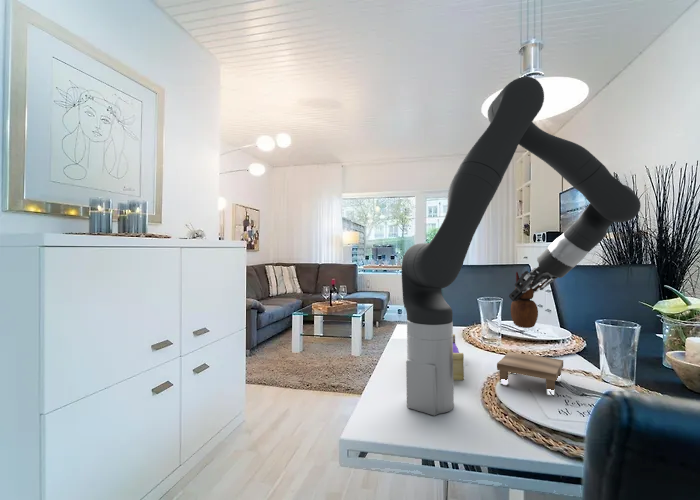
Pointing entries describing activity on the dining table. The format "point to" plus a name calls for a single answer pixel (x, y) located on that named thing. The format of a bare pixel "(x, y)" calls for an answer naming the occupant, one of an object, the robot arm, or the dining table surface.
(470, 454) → the dining table surface
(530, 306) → the wooden figurine
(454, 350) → the toy sofa
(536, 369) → the footstool
